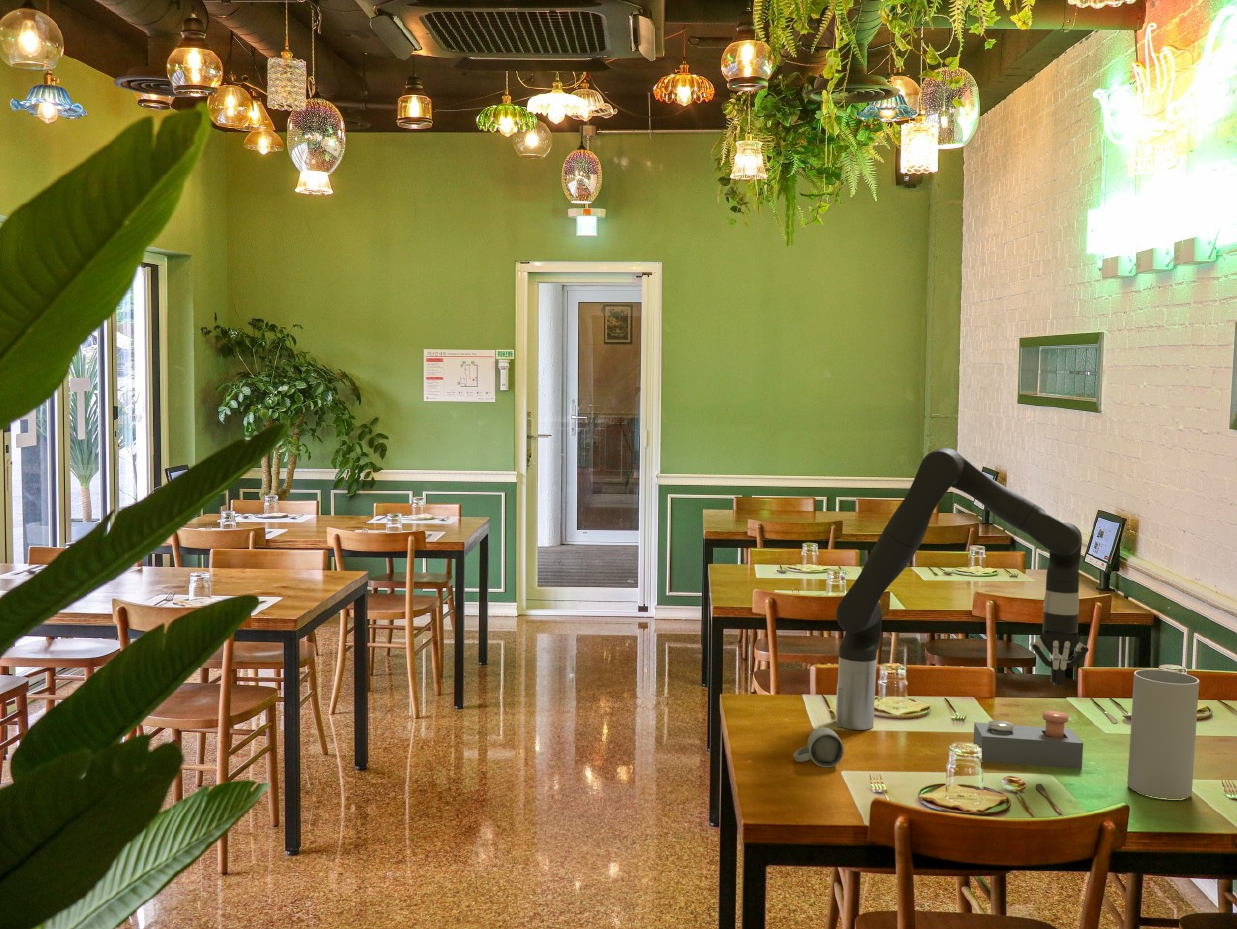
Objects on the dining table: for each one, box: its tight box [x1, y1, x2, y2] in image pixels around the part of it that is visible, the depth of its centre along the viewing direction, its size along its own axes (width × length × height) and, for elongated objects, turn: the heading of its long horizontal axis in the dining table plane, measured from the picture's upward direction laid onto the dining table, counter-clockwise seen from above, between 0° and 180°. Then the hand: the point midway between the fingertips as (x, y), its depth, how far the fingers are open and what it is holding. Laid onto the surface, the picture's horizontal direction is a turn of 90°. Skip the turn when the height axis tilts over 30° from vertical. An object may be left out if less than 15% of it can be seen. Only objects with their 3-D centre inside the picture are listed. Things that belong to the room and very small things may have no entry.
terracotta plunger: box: [1041, 710, 1070, 738], centre depth 264 cm, size 6×6×6 cm
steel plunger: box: [987, 719, 1015, 734], centre depth 266 cm, size 6×6×6 cm
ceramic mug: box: [793, 726, 845, 769], centre depth 258 cm, size 11×8×8 cm
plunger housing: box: [973, 721, 1084, 770], centre depth 265 cm, size 22×11×6 cm, turn 82°
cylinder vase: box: [1127, 668, 1200, 799], centre depth 244 cm, size 12×12×25 cm
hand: (1057, 684), depth 263 cm, fingers closed
